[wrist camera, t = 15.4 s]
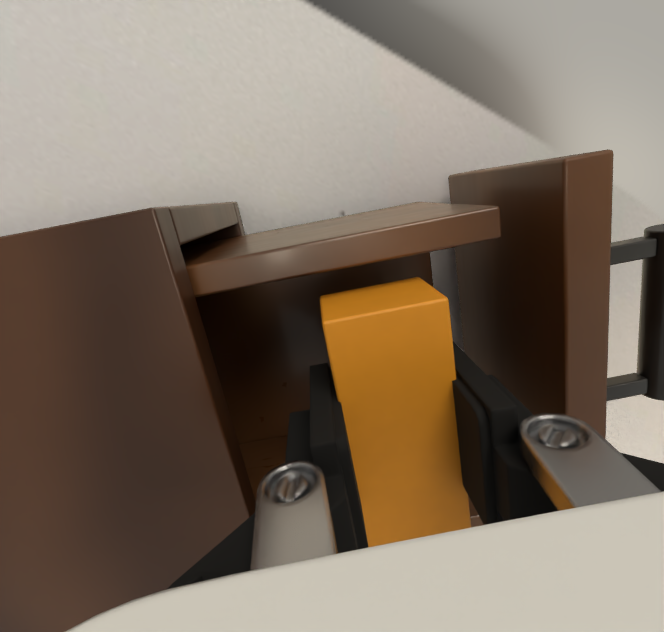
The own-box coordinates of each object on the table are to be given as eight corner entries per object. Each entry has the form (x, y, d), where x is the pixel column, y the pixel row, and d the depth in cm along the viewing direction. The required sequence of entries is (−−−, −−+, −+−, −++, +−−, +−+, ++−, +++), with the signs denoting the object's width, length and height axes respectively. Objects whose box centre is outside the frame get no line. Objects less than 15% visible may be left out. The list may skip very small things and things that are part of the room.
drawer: (589, 148, 17) (824, 107, 9) (587, 391, 20) (756, 509, 12) (157, 231, 17) (30, 261, 9) (228, 461, 20) (180, 622, 12)
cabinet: (237, 201, 17) (153, 206, 8) (297, 446, 21) (289, 647, 12) (-96, 265, 17) (-575, 348, 8) (24, 499, 21) (-203, 744, 12)
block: (318, 295, 11) (321, 322, 8) (419, 275, 11) (449, 297, 8) (359, 500, 13) (371, 566, 11) (444, 484, 13) (474, 547, 11)
